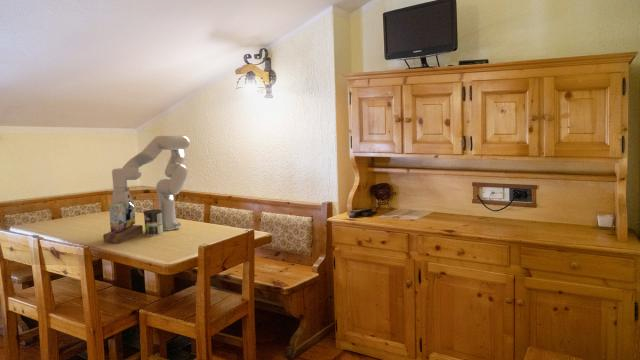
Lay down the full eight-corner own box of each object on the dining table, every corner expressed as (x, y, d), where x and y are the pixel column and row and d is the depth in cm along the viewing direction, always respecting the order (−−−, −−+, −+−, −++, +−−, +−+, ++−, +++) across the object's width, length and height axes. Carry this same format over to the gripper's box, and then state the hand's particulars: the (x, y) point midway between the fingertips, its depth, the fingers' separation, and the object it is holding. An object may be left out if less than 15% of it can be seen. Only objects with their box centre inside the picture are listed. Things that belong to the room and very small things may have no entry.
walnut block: (143, 233, 278) (142, 225, 277) (120, 243, 254) (119, 234, 254) (127, 233, 279) (127, 225, 279) (103, 243, 256) (103, 234, 255)
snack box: (120, 232, 256) (117, 205, 254) (110, 232, 256) (107, 206, 254) (136, 223, 277) (134, 199, 275) (127, 223, 277) (124, 199, 275)
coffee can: (149, 236, 268) (148, 213, 267) (142, 234, 276) (140, 211, 274) (166, 233, 276) (164, 210, 274) (158, 231, 283) (157, 208, 281)
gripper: (137, 188, 266) (140, 218, 268) (110, 188, 268) (113, 218, 271) (130, 190, 258) (133, 221, 261) (102, 190, 261) (105, 221, 263)
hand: (123, 219), depth 266 cm, fingers closed on snack box, 6 cm apart
